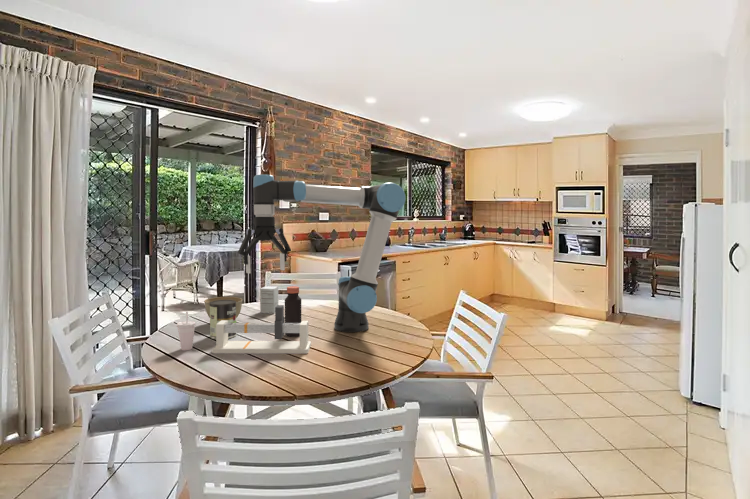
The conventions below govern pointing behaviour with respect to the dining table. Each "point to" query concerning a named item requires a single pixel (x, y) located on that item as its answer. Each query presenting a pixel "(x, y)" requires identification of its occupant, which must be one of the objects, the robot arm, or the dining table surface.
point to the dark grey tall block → (279, 321)
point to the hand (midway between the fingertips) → (265, 271)
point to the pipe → (260, 328)
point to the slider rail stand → (261, 343)
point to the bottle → (292, 308)
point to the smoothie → (186, 333)
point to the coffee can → (222, 315)
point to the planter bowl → (238, 300)
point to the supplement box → (268, 299)
